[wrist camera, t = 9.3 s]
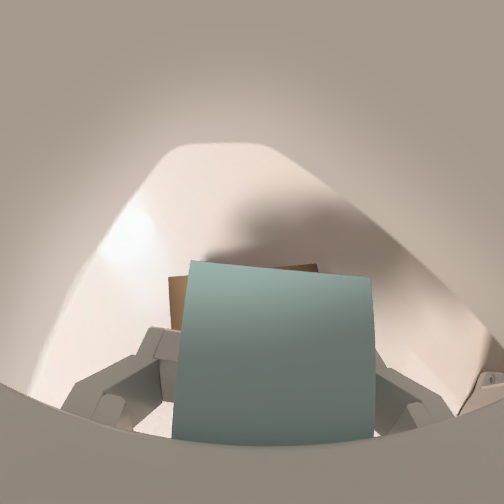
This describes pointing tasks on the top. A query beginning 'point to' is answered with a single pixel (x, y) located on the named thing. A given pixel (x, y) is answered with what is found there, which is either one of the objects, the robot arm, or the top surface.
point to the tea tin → (275, 357)
